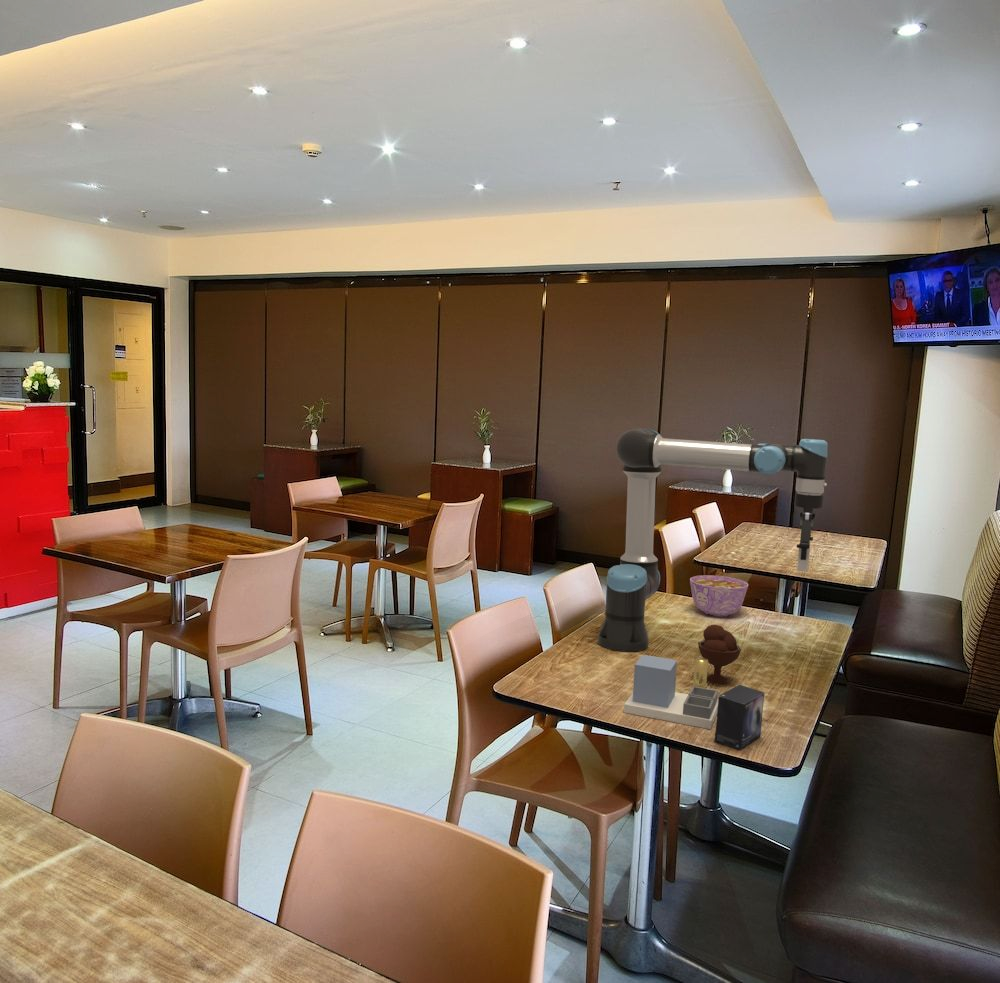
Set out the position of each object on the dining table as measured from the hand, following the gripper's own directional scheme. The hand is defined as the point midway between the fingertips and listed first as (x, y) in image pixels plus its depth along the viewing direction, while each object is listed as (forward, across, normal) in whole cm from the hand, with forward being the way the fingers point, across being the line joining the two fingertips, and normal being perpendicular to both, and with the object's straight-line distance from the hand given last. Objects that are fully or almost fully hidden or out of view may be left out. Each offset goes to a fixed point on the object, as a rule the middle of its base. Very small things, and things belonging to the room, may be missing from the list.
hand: (802, 566), depth 227 cm
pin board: (+28, -57, +25) cm, 68 cm away
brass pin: (+28, -46, +21) cm, 57 cm away
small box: (+28, -66, +9) cm, 72 cm away
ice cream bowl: (+28, -30, +18) cm, 45 cm away
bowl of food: (+28, +40, +27) cm, 56 cm away
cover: (+26, -57, +30) cm, 69 cm away
